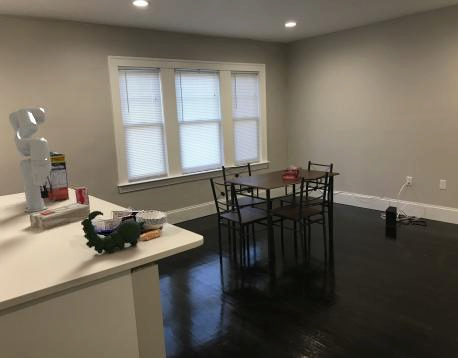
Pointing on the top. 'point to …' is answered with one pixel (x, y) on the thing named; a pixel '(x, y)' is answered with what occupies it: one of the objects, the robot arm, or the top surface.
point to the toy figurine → (117, 239)
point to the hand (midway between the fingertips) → (45, 197)
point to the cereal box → (58, 178)
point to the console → (59, 216)
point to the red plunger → (47, 212)
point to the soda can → (82, 196)
